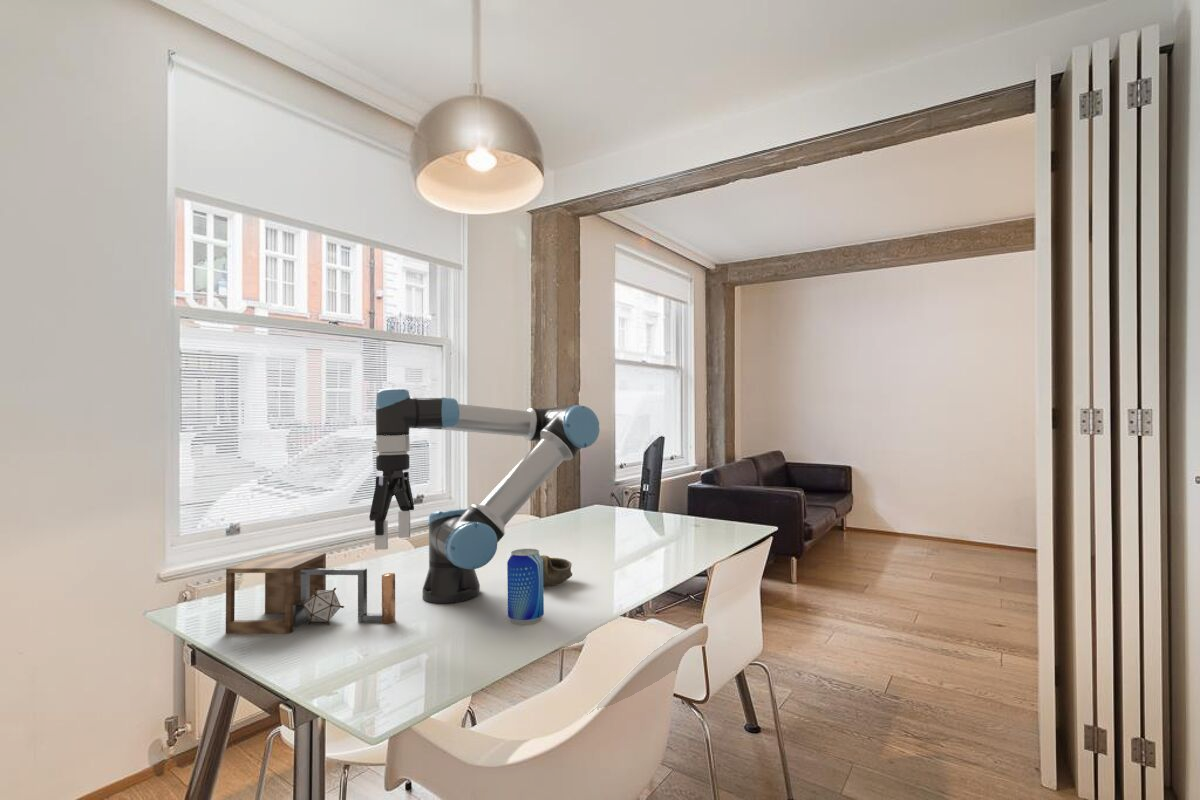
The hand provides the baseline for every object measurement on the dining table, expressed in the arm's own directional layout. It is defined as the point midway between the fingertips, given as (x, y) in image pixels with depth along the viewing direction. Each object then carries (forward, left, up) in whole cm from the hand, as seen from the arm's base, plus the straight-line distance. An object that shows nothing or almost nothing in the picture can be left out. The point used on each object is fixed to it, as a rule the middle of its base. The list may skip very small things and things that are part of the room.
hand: (393, 543), depth 138 cm
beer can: (-31, -1, -19) cm, 37 cm away
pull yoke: (+11, 0, -18) cm, 22 cm away
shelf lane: (+28, 0, -18) cm, 34 cm away
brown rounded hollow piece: (-32, -30, -19) cm, 48 cm away
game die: (+17, +1, -19) cm, 25 cm away
